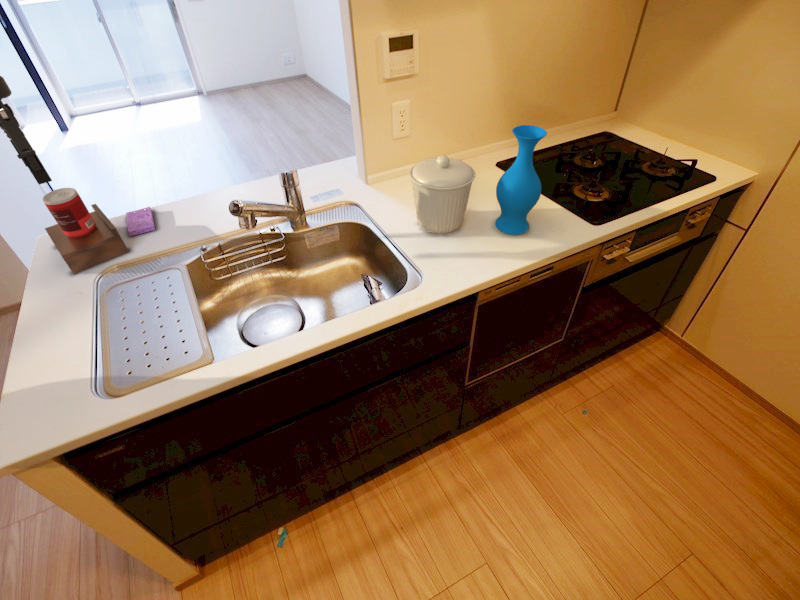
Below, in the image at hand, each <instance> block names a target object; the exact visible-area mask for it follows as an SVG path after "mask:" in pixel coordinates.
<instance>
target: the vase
mask: <svg viewBox="0 0 800 600" xmlns="http://www.w3.org/2000/svg"><path fill="white" fill-rule="evenodd" d="M511 132H512V134H513V135H514V136H515V138H516V141H517V143H518V145H517V146H518V150H517V154H516V158H515V160H514V162H513V163H512V165H511V166H510V167H509V168H508V169H507V170H505V172H504V173H503V174H502V175H501V176H500V178H499V179H498V181H497V184H496V188H495V195H496V200H497V202H498V205H499V208H500V212H501V213H500V215H499V217H497V219H495V222H494V226H495V228H496V229H497V230H498V231H500V232H501V233H502V234H506V235H510V236H519V235H523V234H525V233H527V231H529V229H530V224H529V222H528V220H527V219H528V218H527V217H528V215H529V213H530V212H531V210H532V209H533V208H534V207H535V206H536V205H537V203H538V202H539V200H540V197H541V195H542V182H541V180H540V179H541V178H540V177H539V175H538V174H537V171H536V169H535V167H534V161H533V156H534V152H535V149H536V146H537V145H538V143H539V142H540V141H541V140H542V139H544V138H545V137H547V135H548V132H547V130H546V129H544V128H542V127H540V126H537V125H531V124H524V125H517V126H515V127H513V128H512V129H511Z"/></svg>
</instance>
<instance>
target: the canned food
mask: <svg viewBox="0 0 800 600" xmlns="http://www.w3.org/2000/svg"><path fill="white" fill-rule="evenodd" d="M42 202H43V204H44V205H45V206H46V208H47V210H48V211H49V213H50V214H51V216H52V217H53V219H54V220H55V223H56V224H58V225H59V226H60V228H61V229H62V231H63V232H64V234H65V235H66V236H68V237H69V238H81V237H85V236H87V235H89V234H91V233H92V232H94V231H95V229H96V223H95V222H94V220H93V218H92V217H91V215H90V213H91V212H90V211H89V210H88V208H87V206H86V204H85V203H84V201H83V199H82V197H81V196H80V194H79V193H78V191H77V189H76V188H73V187H62V188H58V189H54V190H51V191H49V192H48V193H46V194H45V195H43V196H42Z"/></svg>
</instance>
